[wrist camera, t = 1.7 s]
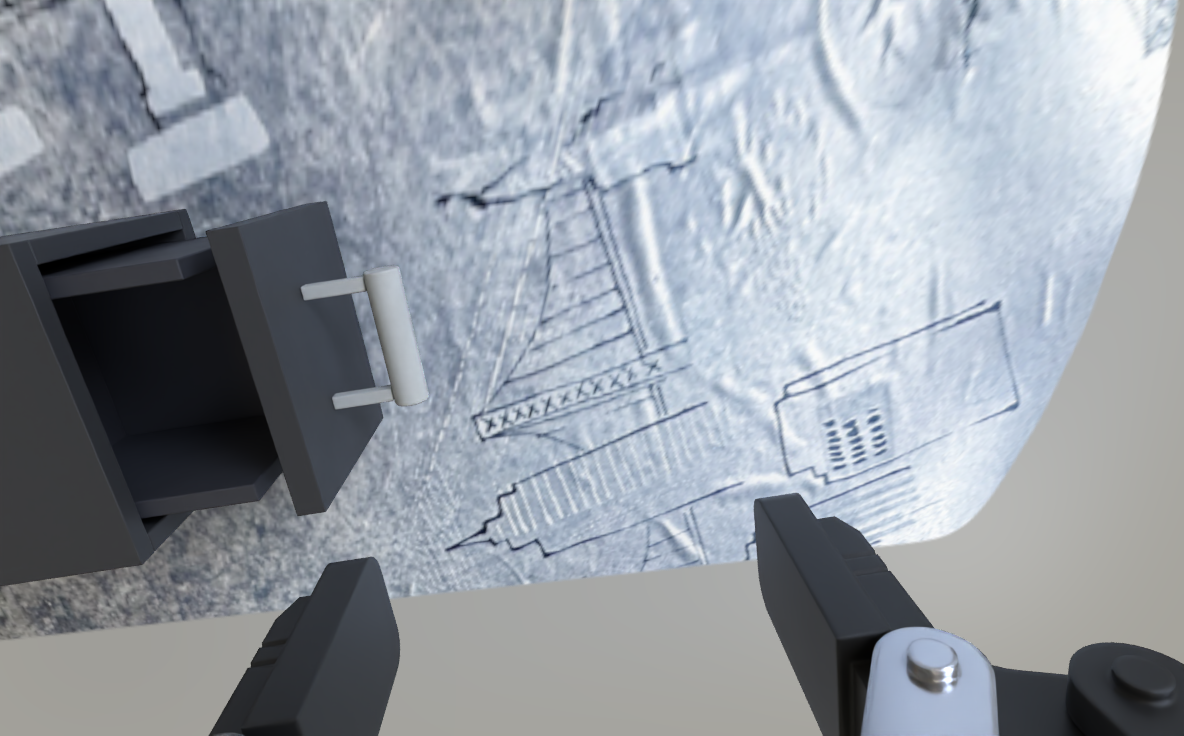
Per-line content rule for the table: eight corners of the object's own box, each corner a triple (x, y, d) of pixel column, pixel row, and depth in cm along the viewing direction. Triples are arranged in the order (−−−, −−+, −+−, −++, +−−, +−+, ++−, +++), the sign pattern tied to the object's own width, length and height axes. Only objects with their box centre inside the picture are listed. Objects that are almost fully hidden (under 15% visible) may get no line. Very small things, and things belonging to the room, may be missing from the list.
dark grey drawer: (411, 188, 34) (355, 208, 24) (459, 406, 37) (427, 496, 28) (50, 242, 33) (-145, 284, 24) (135, 455, 37) (-6, 562, 28)
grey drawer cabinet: (186, 208, 34) (8, 243, 23) (262, 440, 38) (142, 565, 27) (-108, 252, 34) (-430, 309, 23) (0, 480, 38) (-229, 621, 27)
